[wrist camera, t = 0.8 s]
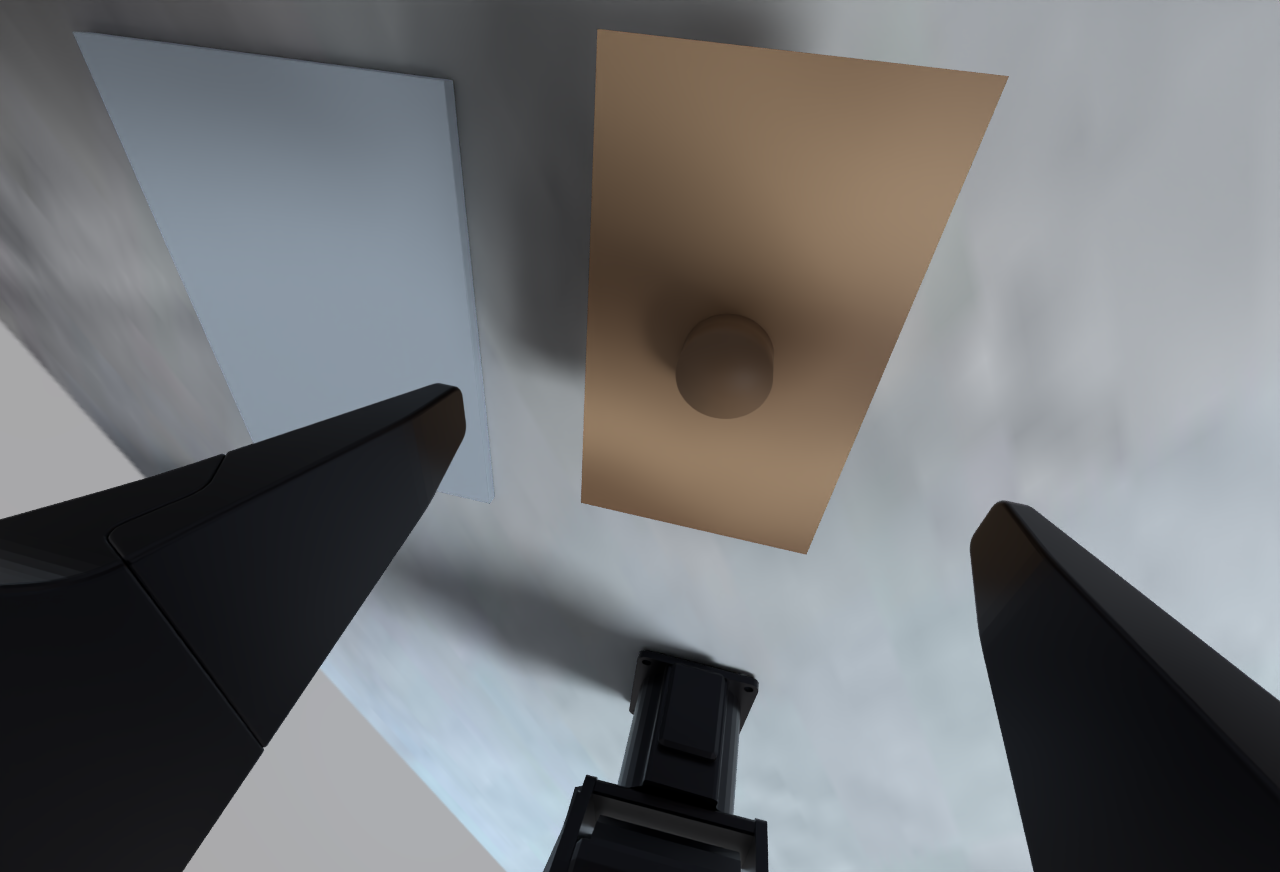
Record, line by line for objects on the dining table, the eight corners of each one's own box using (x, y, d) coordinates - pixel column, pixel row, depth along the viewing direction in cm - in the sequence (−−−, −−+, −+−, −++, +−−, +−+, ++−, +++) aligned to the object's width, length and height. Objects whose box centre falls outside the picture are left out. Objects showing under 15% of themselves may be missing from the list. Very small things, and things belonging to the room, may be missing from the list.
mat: (494, 496, 24) (489, 503, 24) (263, 442, 26) (255, 448, 26) (452, 80, 15) (443, 80, 14) (89, 32, 16) (72, 31, 16)
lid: (804, 505, 16) (807, 583, 14) (600, 460, 17) (569, 526, 15) (972, 72, 10) (1033, 78, 7) (626, 32, 10) (578, 27, 8)
